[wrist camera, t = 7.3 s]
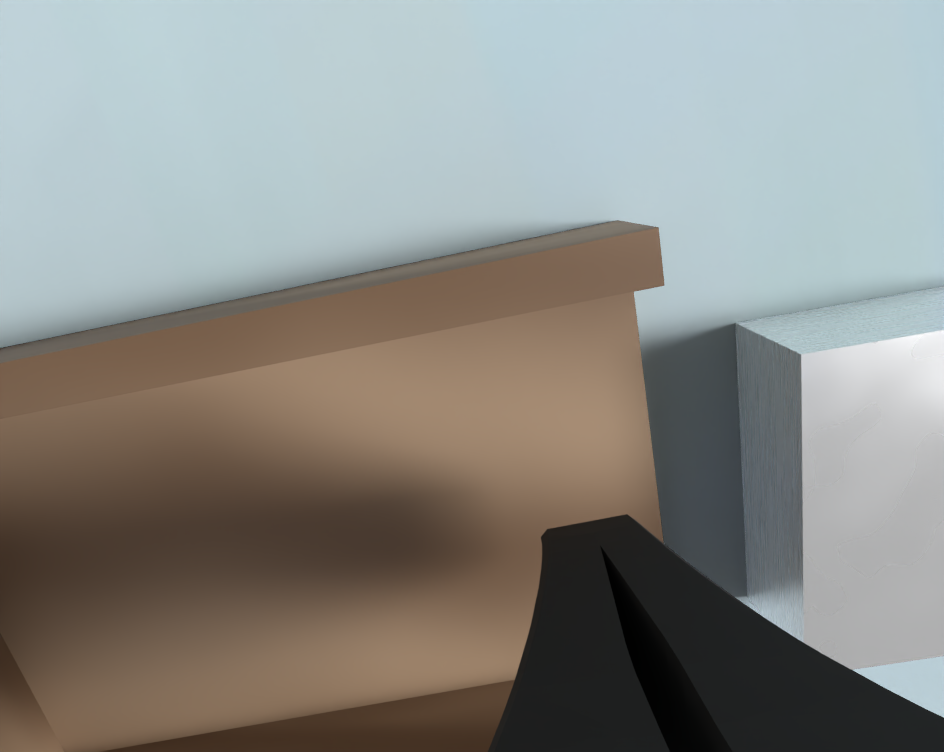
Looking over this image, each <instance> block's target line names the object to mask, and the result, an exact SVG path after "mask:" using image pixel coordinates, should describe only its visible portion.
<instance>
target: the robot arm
mask: <svg viewBox="0 0 944 752" xmlns="http://www.w3.org/2000/svg"><path fill="white" fill-rule="evenodd" d="M541 542H542V564H541V573H540V581H539V588H538V593H537V597H536V602H535V607H534V612H533V617H532V621H531V626H530V630H529V634H528V637H527V640H526V644H525V647H524V651H523V654H522V657H521V661H520V664H519V668H518V671H517V674H516V678H515V681H514V684H513V687H512V690H511V692H510V695H509V698H508V701H507V704H506V707H505V709H504V712H503V715H502V717H501V720H500V722H499V725H498V727H497V730H496V732H495V735H494V737H493V740H492V742H491V745H490V747H489V750H488V752H944V718H943V717H941V716H939V715H937V714H935V713H933V712H931V711H928V710H926V709H924V708H923V707H921V706H919V705H917V704H915V703H913V702H911V701H909V700H907V699H905V698H903V697H901V696H899V695H897V694H895V693H893V692H891V691H889V690H887V689H885V688H883V687H882V686H880V685H878V684H876V683H874V682H873V681H871V680H869V679H867V678H865V677H864V676H862V675H860V674H858V673H856V672H855V671H853V670H851V669H849V668H847V667H845V666H844V665H842V664H840V663H838V662H836V661H835V660H833V659H831V658H829V657H827V656H826V655H824V654H822V653H820V652H819V651H817V650H815V649H814V648H812V647H810V646H809V645H807V644H805V643H803V642H802V641H800V640H798V639H797V638H795V637H794V636H792V635H790V634H789V633H787V632H786V631H784V630H783V629H781V628H780V627H778V626H777V625H775V624H773V623H772V622H770V621H769V620H767V619H766V618H764V617H763V616H761V615H760V614H758V613H757V612H755V611H754V610H752V609H751V608H749V607H748V606H746V605H745V604H744V603H742V602H741V601H739V600H738V599H736V598H735V597H733V596H732V595H731V594H729V593H728V592H727V591H725V590H724V589H723V588H721V587H720V586H718V585H717V584H716V583H714V582H713V581H712V580H710V579H709V578H707V577H706V576H705V575H703V574H702V573H701V572H699V571H698V570H697V569H695V568H694V567H693V566H691V565H690V564H689V563H688V562H686V561H685V560H684V559H682V558H681V557H680V556H679V555H677V554H676V553H675V552H674V551H672V550H671V549H670V548H669V547H667V546H666V545H665V544H664V543H662V542H661V541H660V540H659V539H658V538H656V537H655V536H654V535H653V534H652V533H650V532H649V531H648V530H647V529H646V528H644V527H643V526H642V525H641V524H640V523H638V522H637V521H636V520H635V519H633V518H632V517H631V516H629V515H628V514H625V515H620V516H615V517H609V518H604V519H599V520H593V521H588V522H582V523H577V524H572V525H566V526H561V527H556V528H550V529H547V530H546V531H545V532H544V534H543V535H542V536H541Z"/></svg>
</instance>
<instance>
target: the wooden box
mask: <svg viewBox="0 0 944 752" xmlns="http://www.w3.org/2000/svg"><path fill="white" fill-rule="evenodd" d="M659 286H664V276H663V267H662V257H661V248H660V238H659V228H658V227H653V226H647V225H641V224H635V223H629V222H624V221H618V220H617V221H612V222H607V223H603V224H598V225H593V226H588V227H583V228H579V229H574V230H569V231H564V232H559V233H554V234H550V235H545V236H540V237H535V238H530V239H525V240H521V241H516V242H511V243H506V244H501V245H496V246H492V247H487V248H482V249H477V250H472V251H467V252H463V253H458V254H453V255H448V256H443V257H439V258H434V259H429V260H424V261H419V262H414V263H410V264H405V265H400V266H395V267H390V268H385V269H381V270H376V271H371V272H366V273H361V274H356V275H352V276H347V277H342V278H337V279H332V280H328V281H323V282H318V283H313V284H308V285H303V286H299V287H294V288H289V289H284V290H279V291H274V292H270V293H265V294H260V295H255V296H250V297H245V298H241V299H236V300H231V301H226V302H221V303H216V304H212V305H207V306H202V307H197V308H192V309H188V310H183V311H178V312H173V313H168V314H163V315H159V316H154V317H149V318H144V319H139V320H134V321H130V322H125V323H120V324H115V325H110V326H105V327H101V328H96V329H91V330H86V331H81V332H77V333H72V334H67V335H62V336H57V337H52V338H48V339H43V340H38V341H33V342H28V343H23V344H19V345H14V346H9V347H4V348H0V752H488V750H489V747H490V745H491V742H492V740H493V737H494V735H495V732H496V730H497V727H498V725H499V722H500V720H501V717H502V715H503V712H504V709H505V707H506V704H507V701H508V698H509V695H510V692H511V690H512V687H513V684H514V681H515V678H516V674H517V671H518V668H519V664H520V661H521V657H522V654H523V651H524V647H525V644H526V640H527V637H528V634H529V630H530V626H531V621H532V617H533V612H534V607H535V602H536V597H537V593H538V588H539V581H540V573H541V564H542V542H541V536H542V535H543V534H544V532H545V531H546V530H547V529H550V528H556V527H561V526H566V525H572V524H577V523H582V522H588V521H593V520H599V519H604V518H609V517H615V516H620V515H625V514H628V515H629V516H631V517H632V518H633V519H635V520H636V521H637V522H638V523H640V524H641V525H642V526H643V527H644V528H646V529H647V530H648V531H649V532H650V533H652V534H653V535H654V536H655V537H656V538H658V539H659V540H660V541H661V542H662V543H664V542H663V534H662V525H661V517H660V509H659V500H658V492H657V484H656V475H655V467H654V458H653V450H652V442H651V433H650V425H649V417H648V408H647V400H646V392H645V383H644V375H643V367H642V358H641V350H640V341H639V333H638V325H637V316H636V308H635V300H634V291H639V290H644V289H649V288H654V287H659Z"/></svg>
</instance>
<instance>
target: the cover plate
mask: <svg viewBox="0 0 944 752" xmlns="http://www.w3.org/2000/svg"><path fill="white" fill-rule="evenodd" d="M735 326H736V349H737V371H738V394H739V416H740V439H741V461H742V483H743V506H744V528H745V551H746V573H747V595H748V598H749V599H750V600H751V602H752V603H753V605H754V606H755V608H756V609H757V610H758V612H759V613H760V615H761V616H763V617H764V618H766V619H767V620H769V621H770V622H772V623H773V624H775V625H777V626H778V627H780V628H781V629H783V630H784V631H786V632H787V633H789V634H790V635H792V636H794V637H795V638H797V639H798V640H800V641H802V642H803V643H805V644H807V645H809V646H810V647H812V648H814V649H815V650H817V651H819V652H820V653H822V654H824V655H826V656H827V657H829V658H831V659H833V660H835V661H836V662H838V663H840V664H842V665H844V666H845V667H847V668H849V669H851V670H853V669H860V668H867V667H873V666H880V665H886V664H893V663H900V662H906V661H913V660H920V659H926V658H933V657H940V656H944V286H942V287H937V288H931V289H925V290H920V291H914V292H908V293H903V294H897V295H891V296H885V297H880V298H874V299H868V300H863V301H857V302H851V303H845V304H840V305H834V306H828V307H823V308H817V309H811V310H806V311H800V312H794V313H788V314H783V315H777V316H771V317H766V318H760V319H754V320H749V321H743V322H737V323H735Z"/></svg>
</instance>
